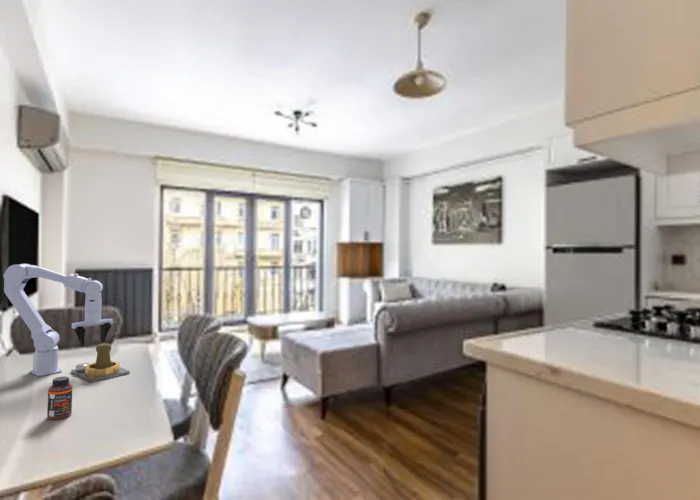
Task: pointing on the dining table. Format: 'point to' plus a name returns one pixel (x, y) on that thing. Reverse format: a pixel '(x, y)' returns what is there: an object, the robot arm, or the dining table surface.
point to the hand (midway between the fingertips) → (92, 343)
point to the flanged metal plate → (99, 371)
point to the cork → (103, 356)
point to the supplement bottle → (59, 398)
